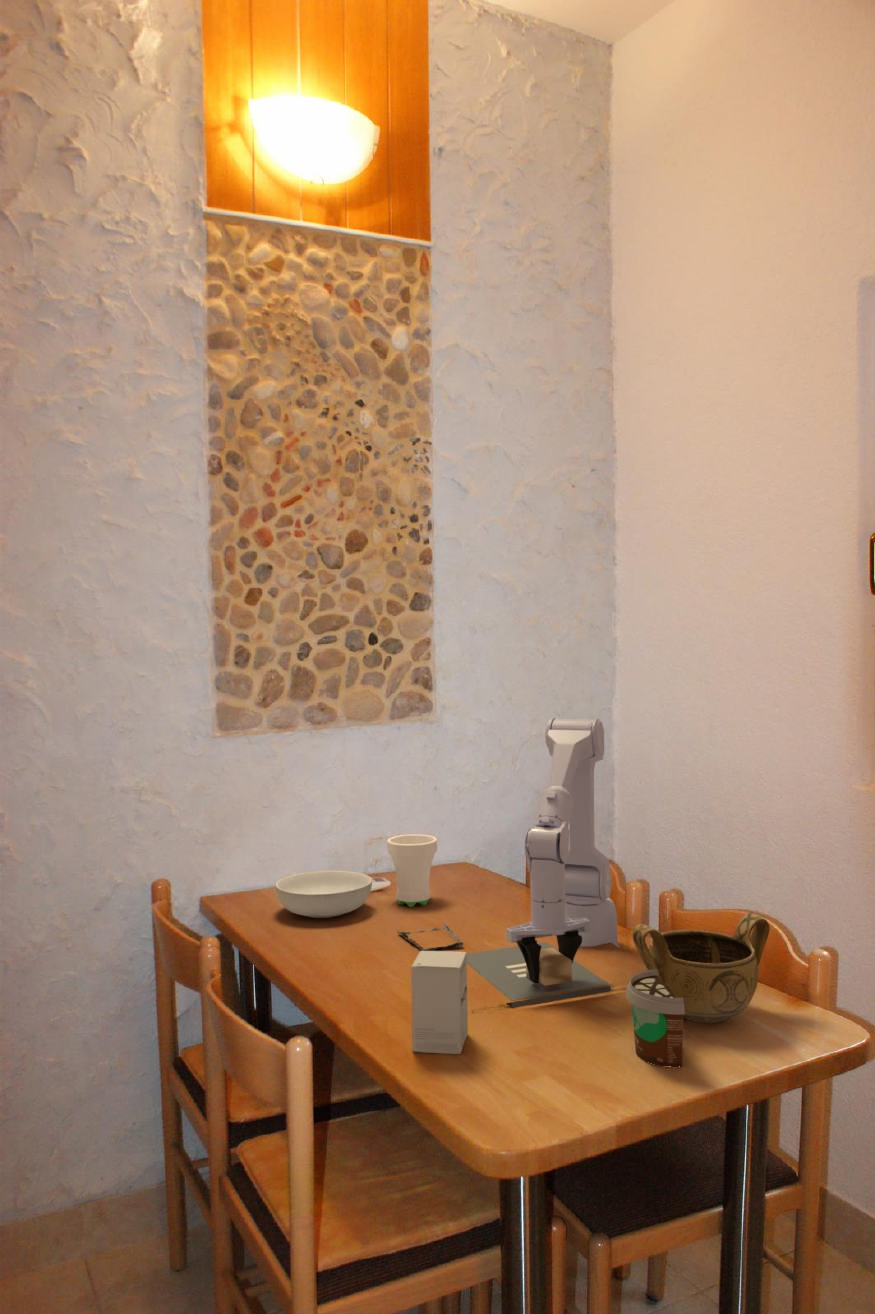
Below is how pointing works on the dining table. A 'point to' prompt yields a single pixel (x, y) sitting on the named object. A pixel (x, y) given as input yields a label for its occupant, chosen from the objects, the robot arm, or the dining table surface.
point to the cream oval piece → (323, 892)
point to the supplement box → (439, 1002)
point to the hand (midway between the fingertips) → (549, 978)
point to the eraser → (553, 970)
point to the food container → (656, 1020)
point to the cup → (412, 866)
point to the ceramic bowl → (707, 966)
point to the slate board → (510, 979)
